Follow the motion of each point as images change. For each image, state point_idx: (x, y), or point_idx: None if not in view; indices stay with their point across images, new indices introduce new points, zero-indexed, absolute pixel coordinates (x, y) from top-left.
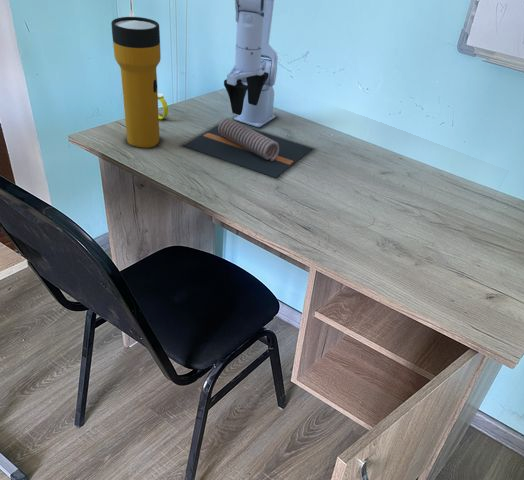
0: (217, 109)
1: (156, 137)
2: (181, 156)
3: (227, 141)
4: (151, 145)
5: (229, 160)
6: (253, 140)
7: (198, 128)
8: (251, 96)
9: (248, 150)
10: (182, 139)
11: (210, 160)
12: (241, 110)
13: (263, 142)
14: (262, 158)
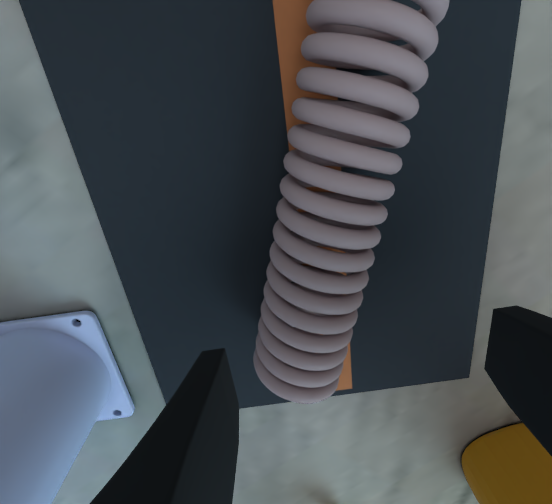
0: None
1: (529, 447)
2: None
3: None
4: None
5: (489, 181)
6: (404, 143)
7: (303, 430)
8: (226, 449)
9: None
10: (418, 407)
11: (521, 242)
12: (544, 322)
13: (413, 53)
14: (367, 71)
